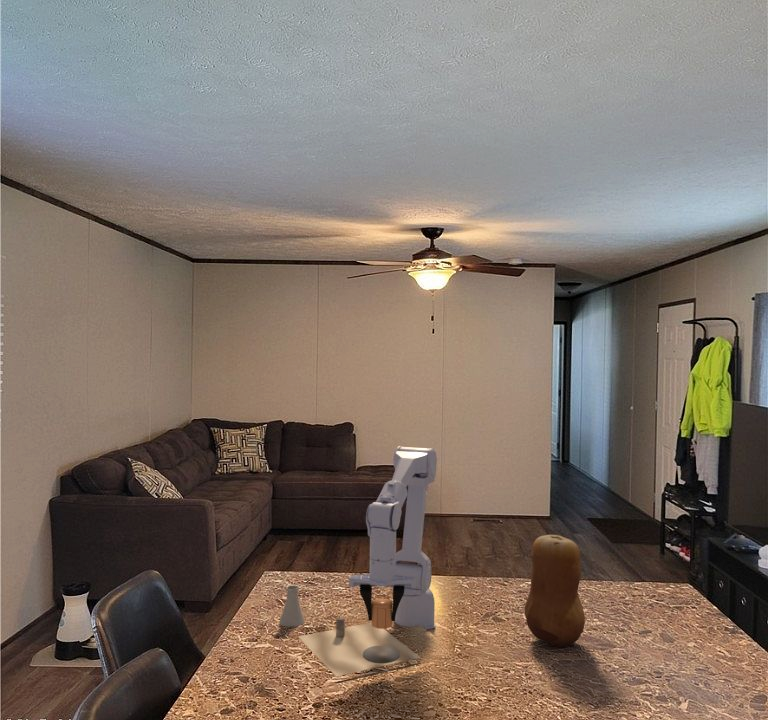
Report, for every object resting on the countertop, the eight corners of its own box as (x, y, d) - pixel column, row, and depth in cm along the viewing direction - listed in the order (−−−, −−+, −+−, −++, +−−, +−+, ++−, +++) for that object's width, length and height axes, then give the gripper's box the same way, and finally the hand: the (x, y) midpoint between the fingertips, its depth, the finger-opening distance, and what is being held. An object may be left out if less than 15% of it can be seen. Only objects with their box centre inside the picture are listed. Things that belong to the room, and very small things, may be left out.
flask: (301, 635, 170) (302, 593, 170) (272, 632, 171) (273, 590, 171) (310, 623, 177) (311, 583, 177) (282, 620, 178) (283, 581, 178)
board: (374, 627, 175) (374, 605, 175) (420, 664, 155) (420, 639, 155) (297, 642, 165) (297, 619, 165) (336, 683, 146) (336, 657, 146)
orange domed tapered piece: (391, 620, 158) (392, 598, 158) (391, 628, 154) (392, 605, 154) (372, 620, 158) (372, 598, 158) (371, 628, 154) (371, 605, 154)
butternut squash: (588, 637, 171) (590, 533, 170) (579, 660, 158) (581, 548, 158) (531, 627, 176) (533, 526, 176) (517, 648, 164) (519, 540, 164)
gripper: (347, 562, 152) (347, 625, 152) (416, 564, 152) (415, 627, 152) (350, 552, 159) (350, 612, 159) (415, 554, 159) (414, 614, 159)
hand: (381, 619), depth 156 cm, fingers closed on orange domed tapered piece, 4 cm apart
